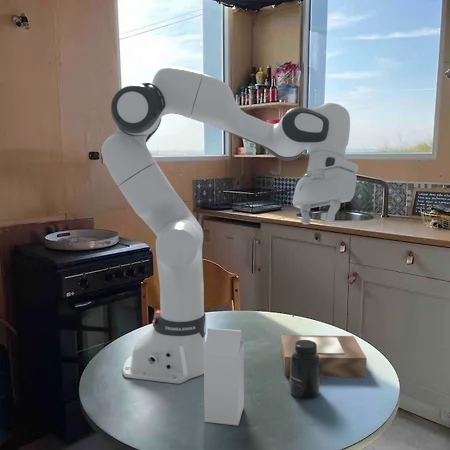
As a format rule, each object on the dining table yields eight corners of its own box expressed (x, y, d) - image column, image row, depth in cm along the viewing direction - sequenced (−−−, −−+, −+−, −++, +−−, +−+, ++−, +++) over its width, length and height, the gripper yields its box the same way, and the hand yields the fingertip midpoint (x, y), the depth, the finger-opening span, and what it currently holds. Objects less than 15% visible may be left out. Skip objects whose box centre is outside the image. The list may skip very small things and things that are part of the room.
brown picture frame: (284, 375, 114) (284, 355, 113) (280, 351, 127) (281, 333, 127) (365, 377, 112) (366, 357, 112) (353, 353, 126) (353, 334, 126)
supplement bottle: (288, 398, 103) (288, 348, 101) (291, 383, 110) (291, 336, 108) (319, 402, 101) (320, 351, 100) (320, 387, 108) (321, 339, 106)
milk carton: (238, 426, 92) (238, 337, 90) (204, 422, 94) (203, 334, 91) (244, 407, 99) (244, 324, 96) (212, 404, 101) (211, 322, 98)
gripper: (291, 172, 121) (282, 222, 119) (342, 156, 102) (333, 215, 100) (310, 178, 123) (302, 228, 121) (363, 164, 105) (355, 222, 103)
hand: (316, 222), depth 110 cm, fingers open, 8 cm apart
